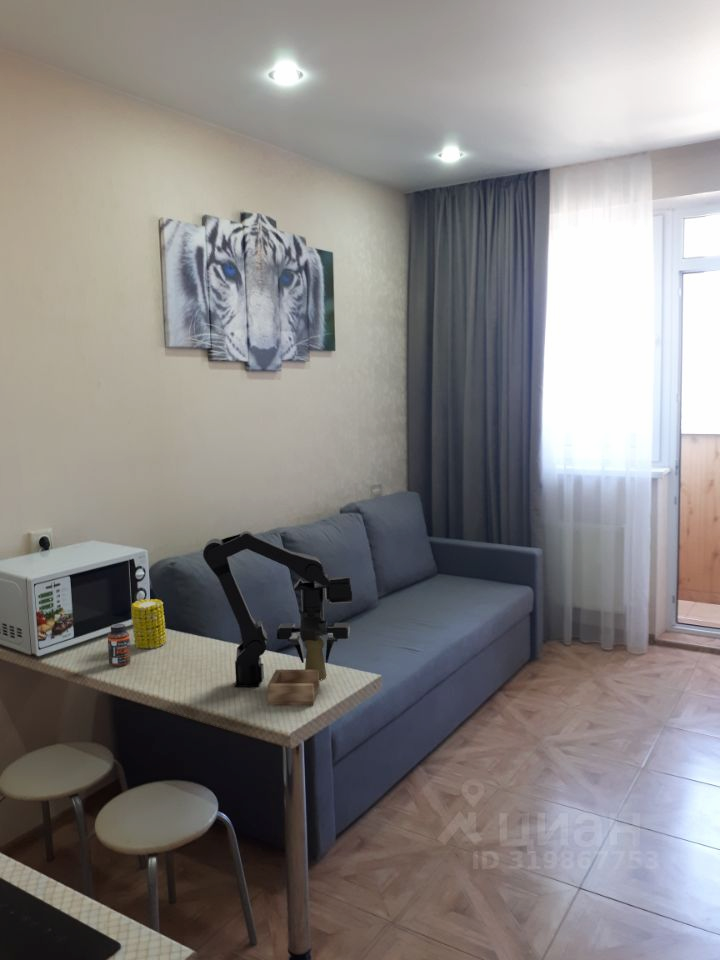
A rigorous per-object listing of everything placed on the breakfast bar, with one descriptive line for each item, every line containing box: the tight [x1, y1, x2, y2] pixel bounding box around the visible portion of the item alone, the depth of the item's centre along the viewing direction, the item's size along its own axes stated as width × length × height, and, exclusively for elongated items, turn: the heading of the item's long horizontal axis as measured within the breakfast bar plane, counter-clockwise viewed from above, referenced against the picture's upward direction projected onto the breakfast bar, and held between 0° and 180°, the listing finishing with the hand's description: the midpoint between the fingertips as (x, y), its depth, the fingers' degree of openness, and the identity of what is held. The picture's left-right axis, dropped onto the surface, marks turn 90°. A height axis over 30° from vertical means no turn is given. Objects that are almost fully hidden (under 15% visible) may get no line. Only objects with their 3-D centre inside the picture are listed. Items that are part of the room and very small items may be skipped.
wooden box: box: [267, 669, 321, 707], centre depth 185 cm, size 11×12×5 cm
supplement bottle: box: [107, 623, 132, 667], centre depth 213 cm, size 6×6×11 cm
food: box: [130, 598, 167, 649], centre depth 229 cm, size 15×12×10 cm
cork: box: [303, 636, 328, 681], centre depth 198 cm, size 6×6×11 cm
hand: (314, 662), depth 198 cm, fingers open, 6 cm apart
